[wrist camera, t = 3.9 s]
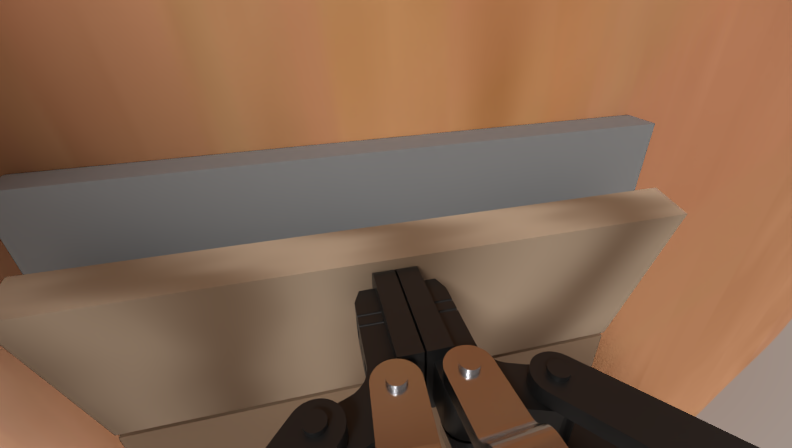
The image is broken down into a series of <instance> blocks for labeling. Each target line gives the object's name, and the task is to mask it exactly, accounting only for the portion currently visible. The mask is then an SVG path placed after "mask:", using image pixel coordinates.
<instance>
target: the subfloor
mask: <svg viewBox="0 0 792 448" xmlns="http://www.w3.org/2000/svg"><path fill="white" fill-rule="evenodd" d="M654 125H655V123H652V122H649V121H646V120H643V119H639V118H636V117H633V116H630V115H622V116H611V117H601V118H590V119H580V120H570V121H559V122H549V123H538V124H528V125H518V126H507V127H497V128H486V129H476V130H466V131H455V132H445V133H434V134H424V135H414V136H403V137H393V138H382V139H372V140H361V141H351V142H341V143H330V144H320V145H309V146H299V147H289V148H278V149H268V150H257V151H247V152H237V153H226V154H216V155H205V156H195V157H185V158H174V159H164V160H153V161H143V162H133V163H122V164H112V165H101V166H91V167H81V168H70V169H60V170H49V171H39V172H29V173H18V174H8V175H3V176H1V177H0V239H1V240H2V242H3V244H4V245H5V247H6V248H7V250H8V252H9V253H10V255H11V256H12V258H13V260H14V261H15V263H16V264H17V266H18V267H19V269H20V271H21V272H22V274H23V275H25V274H32V273H39V272H46V271H54V270H61V269H68V268H76V267H83V266H90V265H97V264H105V263H112V262H119V261H126V260H134V259H141V258H148V257H155V256H163V255H170V254H177V253H184V252H192V251H199V250H206V249H214V248H221V247H228V246H235V245H243V244H250V243H257V242H264V241H272V240H279V239H286V238H293V237H301V236H308V235H315V234H322V233H330V232H337V231H344V230H351V229H359V228H366V227H373V226H381V225H388V224H395V223H402V222H410V221H417V220H424V219H431V218H439V217H446V216H453V215H460V214H468V213H475V212H482V211H489V210H497V209H504V208H511V207H518V206H526V205H533V204H540V203H548V202H555V201H562V200H569V199H577V198H584V197H591V196H598V195H606V194H613V193H620V192H627V191H634V190H635V187H636V184H637V181H638V177H639V174H640V171H641V167H642V164H643V161H644V158H645V154H646V151H647V148H648V145H649V141H650V138H651V135H652V132H653V128H654ZM600 338H601V334H600V333H598V334H593V335H588V336H583V337H579V338H574V339H569V340H564V341H560V342H555V343H550V344H545V345H541V346H536V347H531V348H527V349H522V350H517V351H512V352H508V353H503V354H498V355H493V356H492V357H493V359H495V360H497V361H501V362H506V363H517V364H529V365H530V361H531V359H532V358H533V357H534V356H535V355H536V354H539V353H541V352H547V351H552V352H558V353H562V354H564V355H567V356H569V357H571V358H573V359H575V360H577V361H579V362H581V363H584V364H586V365H588V366H590V367H591V366H592V363H593V360H594V357H595V354H596V351H597V347H598V344H599V341H600ZM362 384H363V383H361V384H356V385H352V386H347V387H342V388H337V389H333V390H328V391H323V392H318V393H314V394H309V395H304V396H300V397H295V398H290V399H285V400H281V401H276V402H271V403H266V404H262V405H257V406H252V407H248V408H243V409H238V410H233V411H229V412H224V413H219V414H214V415H210V416H205V417H200V418H195V419H191V420H186V421H181V422H177V423H172V424H167V425H162V426H158V427H153V428H148V429H143V430H139V431H134V432H129V433H125V434H120V436H119V439H120V441H121V442H122V444H123V446H124V447H125V448H266V446H267V445H268V444H269V442H270V441H271V440H272V438H273V437H274V436H275V434H276V433H277V432H278V430H279V429H280V428H281V426H282V425H283V424H284V423H285V421H286V420H287V419H288V417H289V416H290V415H291V413H292V412H293V411H294V410H295V409H296V408H297V407H298V406H300V405H301V404H303V403H305V402H307V401H309V400H312V399H318V398H325V399H330V400H333V401H334V402H336V403H339V402H340V401H342V400H344V399H346V398H348V397H349V396H351V395H352V394H354V393H355V392H356V391H357V390H358V389H359V388H360V387H361V386H362ZM432 412H433V416H434V420H435V424H436V428H437V432H438V436H439V440H440V444H441V447H442V448H446V446H445V444H444V441H443V439H442V436H441V433H440V417H439V414H438V411H437V408H436V407H434V408H432Z"/></svg>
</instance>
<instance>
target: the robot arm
mask: <svg viewBox="0 0 792 448" xmlns="http://www.w3.org/2000/svg"><path fill="white" fill-rule="evenodd" d="M372 287H373V289H368V290H362V291H359V292H358V295H357V297H356V300H355V303H354V304H355V313H356V322H357V332H358V340H359V345H360V350H361V356H362V361H363V366H364V372H365V377H366V378H365V381H364V383H363V384H362V386H361V387H360V388H359V389H358V390H357V391H356V392H355V393H354V394H352V395H351V396H349V397H348V398H346V399H344V400H342V401H340V402H339V403H336V402H334V401H333V400H330V399H325V398H318V399H312V400H309V401H307V402H305V403H303V404H301V405H300V406H298V407H297V408H296V409H295V410H294V411H293V412H292V413H291V415H290V416H289V417H288V419H287V420H286V421H285V423H284V424H283V425H282V426H281V428H280V429H279V430H278V432H277V433H276V434H275V436H274V437H273V438H272V440H271V441H270V442H269V444H268V445H267V446H266V448H442V447H441V444H440V440H439V436H438V432H437V428H436V424H435V420H434V416H433V412H432V408H434V407H436V408H437V411H438V414H439V417H440V433H441V436H442V439H443V441H444V444H445V446H446V448H759V447H757V446H755V445H753V444H751V443H748V442H746V441H744V440H742V439H740V438H738V437H736V436H734V435H732V434H729V433H728V432H726V431H723V430H721V429H719V428H717V427H715V426H713V425H711V424H708V423H706V422H705V421H702V420H700V419H698V418H696V417H694V416H692V415H690V414H688V413H686V412H684V411H682V410H680V409H678V408H675V407H673V406H671V405H669V404H667V403H665V402H663V401H661V400H659V399H657V398H655V397H652V396H650V395H648V394H646V393H644V392H642V391H640V390H638V389H636V388H634V387H632V386H630V385H627V384H625V383H623V382H621V381H619V380H617V379H615V378H613V377H611V376H609V375H607V374H604V373H602V372H600V371H598V370H596V369H594V368H592V367H590V366H588V365H586V364H584V363H581V362H579V361H577V360H575V359H573V358H571V357H569V356H567V355H564V354H562V353H558V352H552V351H547V352H541V353H539V354H536V355H535V356H534V357H533V358H532V359H531V361H530V365H529V364H517V363H506V362H501V361H497V360H495V359H493V357H492V356H491V355H490V354H489V353H488V352H486V351H485V350H483V349H481V348H479V347H478V346H477V345H476V343H475V341H474V339H473V338H472V336H471V334H470V332H469V330H468V328H467V326H466V324H465V322H464V321H463V319H462V317H461V315H460V313H459V311H458V310H457V307H456V305H455V304H454V302H453V301H452V298H451V296H450V294H449V292H448V290H447V288H446V287H445V286H444V285H442V284H441V283H440V282H439V281H437V280H436V279H429V280H424V279H423V277H422V275H421V273H420V271H419V269H418V267H417V266H413V267H406V268H400V269H395V271H394V270H388V271H382V272H375V273H372Z"/></svg>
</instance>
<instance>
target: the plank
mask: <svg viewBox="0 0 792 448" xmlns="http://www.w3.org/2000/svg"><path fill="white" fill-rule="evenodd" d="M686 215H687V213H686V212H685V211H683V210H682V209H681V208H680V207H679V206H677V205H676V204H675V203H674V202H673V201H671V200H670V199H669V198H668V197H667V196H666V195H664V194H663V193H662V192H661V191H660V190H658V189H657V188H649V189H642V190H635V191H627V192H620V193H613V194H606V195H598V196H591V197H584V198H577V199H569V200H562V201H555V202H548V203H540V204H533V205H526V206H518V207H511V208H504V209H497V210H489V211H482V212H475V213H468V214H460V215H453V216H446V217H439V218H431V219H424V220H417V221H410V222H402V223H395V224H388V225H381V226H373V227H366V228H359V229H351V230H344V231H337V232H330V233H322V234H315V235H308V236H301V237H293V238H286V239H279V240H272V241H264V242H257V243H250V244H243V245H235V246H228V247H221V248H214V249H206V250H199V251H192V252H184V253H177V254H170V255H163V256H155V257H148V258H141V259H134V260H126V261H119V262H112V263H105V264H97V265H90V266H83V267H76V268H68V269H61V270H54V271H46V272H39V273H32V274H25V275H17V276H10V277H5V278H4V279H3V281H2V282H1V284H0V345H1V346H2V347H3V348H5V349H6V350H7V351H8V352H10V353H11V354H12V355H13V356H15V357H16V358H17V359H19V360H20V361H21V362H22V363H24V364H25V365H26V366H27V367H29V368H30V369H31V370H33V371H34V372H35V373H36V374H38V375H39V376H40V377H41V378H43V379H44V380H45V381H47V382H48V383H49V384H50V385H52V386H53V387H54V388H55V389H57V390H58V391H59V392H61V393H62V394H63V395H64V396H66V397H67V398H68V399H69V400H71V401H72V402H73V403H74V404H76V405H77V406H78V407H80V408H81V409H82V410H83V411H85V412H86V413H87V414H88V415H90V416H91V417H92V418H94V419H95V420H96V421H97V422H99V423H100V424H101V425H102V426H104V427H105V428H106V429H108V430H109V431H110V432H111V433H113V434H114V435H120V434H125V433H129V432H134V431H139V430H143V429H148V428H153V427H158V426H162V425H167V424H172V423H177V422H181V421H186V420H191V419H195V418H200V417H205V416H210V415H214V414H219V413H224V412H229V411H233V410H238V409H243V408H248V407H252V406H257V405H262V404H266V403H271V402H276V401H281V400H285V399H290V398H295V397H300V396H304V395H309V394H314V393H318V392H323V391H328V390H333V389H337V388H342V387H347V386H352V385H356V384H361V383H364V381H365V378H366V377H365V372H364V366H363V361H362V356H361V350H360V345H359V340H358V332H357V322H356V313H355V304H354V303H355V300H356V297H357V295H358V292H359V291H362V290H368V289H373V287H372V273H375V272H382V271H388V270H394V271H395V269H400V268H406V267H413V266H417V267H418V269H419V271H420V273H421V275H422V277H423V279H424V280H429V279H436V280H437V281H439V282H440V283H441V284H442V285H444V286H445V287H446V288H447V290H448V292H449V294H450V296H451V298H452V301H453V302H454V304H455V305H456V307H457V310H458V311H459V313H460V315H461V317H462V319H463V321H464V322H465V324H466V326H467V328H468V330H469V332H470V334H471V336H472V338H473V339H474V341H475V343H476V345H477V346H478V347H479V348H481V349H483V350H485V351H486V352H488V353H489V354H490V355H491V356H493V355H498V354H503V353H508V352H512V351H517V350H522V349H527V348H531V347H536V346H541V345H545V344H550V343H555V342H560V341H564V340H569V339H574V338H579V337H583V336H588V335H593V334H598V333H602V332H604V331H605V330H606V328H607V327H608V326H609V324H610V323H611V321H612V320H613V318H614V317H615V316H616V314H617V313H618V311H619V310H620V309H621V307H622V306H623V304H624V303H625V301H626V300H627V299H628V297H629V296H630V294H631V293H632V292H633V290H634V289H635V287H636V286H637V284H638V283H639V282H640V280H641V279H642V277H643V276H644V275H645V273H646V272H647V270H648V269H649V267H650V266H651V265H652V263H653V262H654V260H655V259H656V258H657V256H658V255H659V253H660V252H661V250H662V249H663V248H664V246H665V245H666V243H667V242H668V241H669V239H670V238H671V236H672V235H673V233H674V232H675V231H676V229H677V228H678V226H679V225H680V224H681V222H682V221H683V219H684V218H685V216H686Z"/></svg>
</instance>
